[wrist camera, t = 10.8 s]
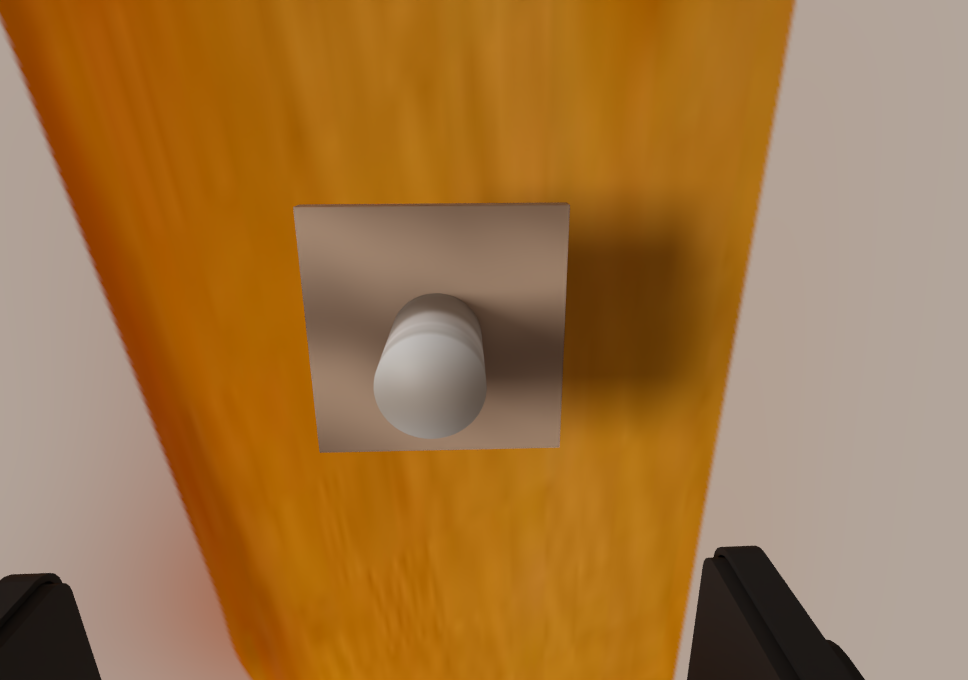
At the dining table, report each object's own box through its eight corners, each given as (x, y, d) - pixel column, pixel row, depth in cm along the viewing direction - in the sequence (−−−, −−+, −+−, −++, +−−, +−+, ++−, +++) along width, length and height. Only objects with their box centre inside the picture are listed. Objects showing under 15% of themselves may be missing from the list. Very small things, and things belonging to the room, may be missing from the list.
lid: (298, 204, 22) (245, 228, 17) (566, 202, 22) (600, 224, 17) (323, 443, 25) (286, 528, 20) (556, 438, 26) (582, 520, 20)
